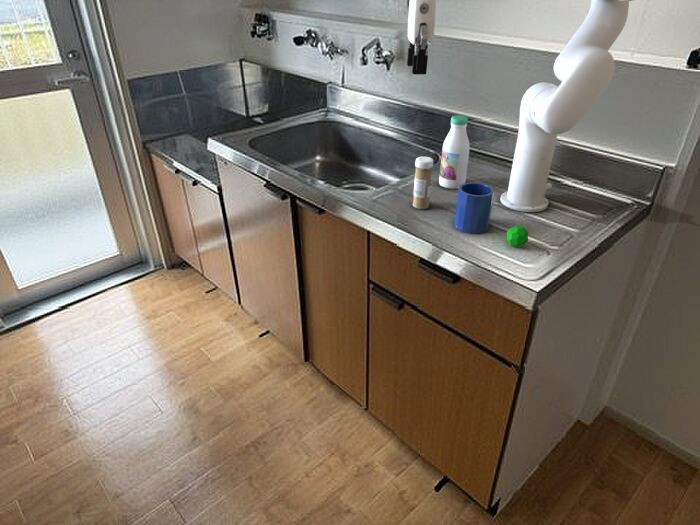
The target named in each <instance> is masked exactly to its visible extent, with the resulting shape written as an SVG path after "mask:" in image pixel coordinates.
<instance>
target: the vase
mask: <svg viewBox="0 0 700 525" xmlns="http://www.w3.org/2000/svg"><path fill="white" fill-rule="evenodd" d="M494 197H495V189H494V188H493V187H492V186H491V185H488V184H486V183H482V182H472V181H471V182H465V183H464V184H461V185H460V186H459V188H458V189H457V197H456V205H455V212H454V222H453V225H454V227H455V229H457V230H458V231H459V232H463V233H465V234H466V233H467V234H473V235H474V234H475V235H476V234H482V233H485V232H486V231H487V230H489V226H490V220H491V215H492V210H493V209H492V208H493V202H494Z"/></svg>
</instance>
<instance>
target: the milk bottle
mask: <svg viewBox="0 0 700 525" xmlns="http://www.w3.org/2000/svg"><path fill="white" fill-rule="evenodd" d="M468 122H469V118H468V116H466V115H460V114H459V115H458V114H457V115H452V116H451V118H450V130H449V132H448V133H447V135H446V137H445V139H444V141H443V143H442V144H443V145H442V151H441V158H440V166H439V177H438V183H439V186H441V187H444V188H446V189H453V190H454V189H457V190H458V188H459V186H460V185H461V184H464V183H466V182H467V181H466V180H467V172H468V167H469V166H468V165H469V158H470V147H471V146H470V140H469V137H468V132H467V126H468Z"/></svg>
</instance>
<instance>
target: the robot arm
mask: <svg viewBox="0 0 700 525" xmlns="http://www.w3.org/2000/svg"><path fill="white" fill-rule="evenodd" d="M590 1H591V2H590V7H589V11H588V13H587V15H586V16H585V18H584V20H583V21H582V23H581V24H580V26H579V27H578V29H577V30H576V32H575V33H574V34H573V35H572V37H571V38H570V39H569V41H568V42H567V44H566V45H565V46H564V47H563V49H562V50H561V51H560V52H559V54H558V56H556V58H555V60H554V64H553V74H554V76H555V77H556V78H557V79H558V80H559V81H560V82H561V83H560V84H559V85H556V84H553V83H550V82H542V81H541V82H538V83H536V84H533V85H532V86H530V87H529V88H527V89H526V91H525V93H524V94H523V96H522V98H521V100H520V107H519V124H518V133H517V139H516V143H515V144H516V145H515V148H514V155H513V160H512V166H511V171H510V176H509V182H508V188H507V191H504V192H502V193H501V195H500V203H501V204H502V205H503V206H505V207H506V208H508V209H511V210H513V211H517V212H522V213H539V212H542V211H545V210H546V209H547V208H548V207H549V199H548V198H546V196H545V193H547V192H548V191H550V190H552V189H553V184H552V183H550V182H548V179H549V175H550V171H551V168H552V167H551V166H552V163H553V158H554V154H555V150H556V146H557V139H558V135H562V134H565V133H567V132H569V131H570V130H572V129H573V128H574V127H575V126H576V125H577V124H579V122H580V121H581V120H582V119H583V117H584V116H585V115H586V113H588V111H589V110H590V109H591V108H592V106H593V105H594V104H595V103H596V102H597V100H598V99H599V98H600V96H601V95H602V94H603V93H604V92H605V90H607V88H608V86H609V85H610V83H611V81H612V79H613V76H614V73H615V70H616V69H615V68H616V62H615V58H614V57H613V55H612V54H611V52H609V50H610V49H611V47H612V46H613V45H614V44H615V42H616V40H617V39H618V38H619V36H620V34H621V33H622V31H623V29H624V28H625V25H626V23H627V20H628V15H629V7H630V2H633V1H634V0H590ZM436 7H437V0H409V5H408V16H407V17H408V19H407V39H408V48H407V57H406V58H407V59H406V65H407V66H408V67H412V68H411V69H412V70H411V74H412V75H427V71H428V60H429V55H428V54H429V45H430V46H432V45H433V44H434V42H435V30H436V28H435V26H436V9H437V8H436Z"/></svg>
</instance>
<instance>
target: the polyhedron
mask: <svg viewBox="0 0 700 525" xmlns="http://www.w3.org/2000/svg"><path fill="white" fill-rule="evenodd" d="M506 242H507V243H508V244H509V245H510V246H511V247H515V248H519V247H522V246H524V245H526V244H527V243H528V242H529V231H528V229H526V228H525V227H524V226H521V225H515V226H512V227H510V228H509V229H508V230H507V232H506Z"/></svg>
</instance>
